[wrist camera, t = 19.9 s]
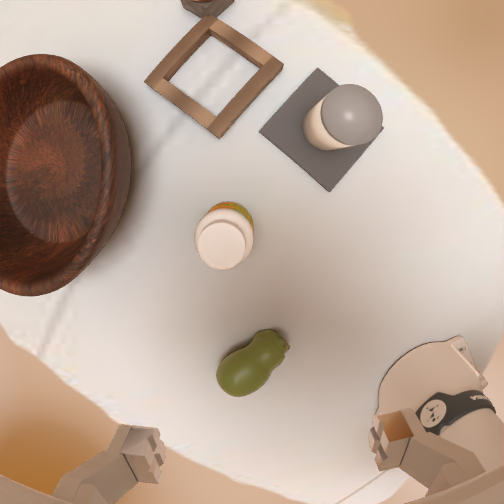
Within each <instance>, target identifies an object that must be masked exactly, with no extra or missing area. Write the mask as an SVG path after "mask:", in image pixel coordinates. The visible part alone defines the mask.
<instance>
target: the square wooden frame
mask: <svg viewBox="0 0 504 504" xmlns="http://www.w3.org/2000/svg"><path fill="white" fill-rule="evenodd" d="M233 2H234V0H209V1H204V2H198V1H193V0H181V3H182V5H183V7H184V8H185V9H187V10H188V11H190V12H192V13H194V14H195V15H197V16H199V17H200V18H202V19H201V20H200V21H199V22H198V23H197V24H196V25H195V26H194V27H193V28H192V29H191V30H190V31H189V32H188V33H187V34H186V35H185V36H184V37H183V38H182V39H181V40H180V41H179V42H178V43H177V44H176V46H175V47H174V48H173V49H172V50H171V51H170V52H169V53H168V54H167V55H166V56H165V58H164V59H163V60H162V61H161V62H160V63H159V64H158V66H157V67H156V68H155V69H154V70H153V71H152V73H151V74H150V75H149V76H148V77H147V79H146V80H145V81H144V82H145V83H146V84H147V85H148V86H150V87H151V88H153V89H154V90H155V91H157V92H158V93H160V94H161V95H162V96H164V97H165V98H166V99H168V100H169V101H171V102H172V103H173V104H175V105H176V106H177V107H179V108H180V109H181V110H183V111H184V112H185V113H187V114H188V115H189V116H191V117H192V118H193V119H195V120H196V121H197V122H199V123H200V124H201V125H203V126H204V127H205V128H206V129H208V130H209V131H210V132H212V133H213V134H214V135H215V136H217V137H218V138H219V139H220V138H221V137H222V136H223V135H224V133H225V132H226V131H227V130H228V129H229V128H230V126H231V125H232V124H233V123H234V122H235V121H236V119H237V118H238V117H239V116H240V115H241V114H242V113H243V111H244V110H245V109H246V108H247V107H248V106H249V105H250V104H251V103H252V101H253V100H254V99H255V98H256V97H257V96H258V95H259V94H260V93H261V92H262V90H263V89H264V88H265V87H266V86H267V85H268V84H269V83H270V82H271V81H272V80H273V79H274V78H275V77H276V75H277V74H278V73H279V72H280V71H281V70H282V68H283V66H284V64H283V63H282V62H280V61H279V60H278V59H276V58H275V57H274V56H272V55H271V54H269V53H268V52H267V51H265V50H264V49H262V48H261V47H260V46H258V45H257V44H255V43H254V42H252V41H251V40H250V39H248V38H247V37H245V36H244V35H242V34H241V33H239V32H238V31H236V30H235V29H233V28H232V27H230V26H228V25H227V24H225V23H224V22H222V21H220V20H219V19H217V18H216V17H217V16H219V15H220V14H221V13H222V12H223V11H224V10H225V9H226V8H227V7H228V6H229V5H231V4H232V3H233ZM210 35H212V36H214V37H215V38H217V39H218V40H220V41H221V42H223V43H224V44H226V45H227V46H229V47H230V48H232V49H233V50H235V51H236V52H237V53H239V54H240V55H242V56H243V57H245V58H246V59H247V60H249V61H250V62H252V63H253V64H254V65H256V66H257V67H258V68H260V70H259V71H258V72H257V73H256V74H255V75H254V76H253V77H252V78H251V79H250V80H249V81H248V82H247V83H246V84H245V86H244V87H243V88H242V89H241V90H240V91H239V92H238V93H237V94H236V95H235V97H234V98H233V99H232V100H231V101H230V102H229V103H228V104H227V106H226V107H225V108H224V109H223V110H222V111H221V112H220V114H219V115H218V116H217V117H215V116H214V115H213V114H211V113H210V112H209V111H207V110H206V109H205V108H203V107H202V106H201V105H199V104H198V103H197V102H195V101H194V100H193V99H191V98H190V97H189V96H187V95H186V94H184V93H183V92H182V91H180V90H179V89H177V88H176V87H175V86H173V85H172V84H170V83H169V82H168V81H169V80H170V79H171V77H172V76H173V75H174V74H175V73H176V72H177V70H178V69H179V68H180V67H181V66H182V65H183V64H184V63H185V62H186V60H187V59H188V58H189V57H190V56H191V55H192V54H193V53H194V52H195V51H196V50H197V49H198V48H199V47H200V46H201V45H202V44H203V42H204V41H205V40H206V39H207V38H208V37H209V36H210Z"/></svg>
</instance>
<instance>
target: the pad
mask: <svg viewBox="0 0 504 504" xmlns="http://www.w3.org/2000/svg"><path fill="white" fill-rule="evenodd" d="M338 86H339V85H338V84H337V83H335V82H334V81H333V80H332V79H331V78H330V77H328V76H327V75H326V74H325V73H324V72H322V71H321V70H320V69H319V68H317V69H316V70H315V71H314V72H313V73H312V74H311V75H310V76H309V77H308V78H307V79H306V80H305V81H304V82H303V83H302V85H301V86H300V87H299V88H298V89H297V90H296V91H295V92H294V93H293V94H292V95H291V96H290V98H289V99H288V100H287V101H286V102H285V103H284V104H283V105H282V106H281V107H280V108H279V110H278V111H277V112H276V113H275V114H274V115H273V116H272V117H271V119H270V120H269V121H268V122H267V123H266V124H265V125H264V126H263V128H262V129H261V130H260V131H259V132H260V133H261V134H262V135H263V136H265V137H266V138H267V139H268V140H270V141H271V142H272V143H273V144H274V145H276V146H277V147H278V148H279V149H280V150H282V151H283V152H284V153H285V154H286V155H288V156H289V157H290V158H291V159H292V160H293V161H295V162H296V163H297V164H298V165H299V166H300V167H301V168H303V169H304V170H305V171H306V172H307V173H308V174H309V175H311V176H312V177H313V178H314V179H315V180H316V181H317V182H318V183H320V184H321V185H322V186H323V187H324V188H325V189H326V190H327V191H328V192H330V191H331V190H332V189H333V188H334V187H335V185H336V184H337V183H338V182H339V181H340V180H341V178H342V177H343V176H344V175H345V174H346V173H347V171H348V170H349V169H350V168H351V167H352V165H353V164H354V163H355V162H356V161H357V160H358V158H359V157H360V156H361V155H362V154H363V152H364V151H365V150H366V149H367V148H368V147H369V145H370V144H371V143H372V142H373V141H374V139H375V138H376V137H377V136H378V135H379V133H380V132H381V131H382V130H383V129H384V127H383V126H381V129H380V131H379V133H378V134H377V136H376V137H375V138H374V139H372V140H371V141H369V142H367V143H364V144H360V145H355V146H349V147H344V148H339V149H334V150H328V151H325V150H319V149H317V148H315V147H313V146H312V145H311V144H310V143H309V142H308V141H307V140H306V138H305V136H304V134H303V130H302V123H303V120H304V117H305V115H306V114H307V113H308V112H309V111H310V110H311V109H312V108H313V107H314V106H315V105H316V104H317V103H319V102H320V101H321V100H322V99H323V98H324V97H325V96H326V95H327V94H329V93H330V92H331V91H332V90H333V89H335V88H336V87H338Z"/></svg>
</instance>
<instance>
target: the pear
mask: <svg viewBox="0 0 504 504" xmlns="http://www.w3.org/2000/svg"><path fill="white" fill-rule="evenodd" d="M285 342H286V341H285V340H283V339H282V338H280V337H279V336H278V334H277V332H274V331H272V330H271V329H268V330H264V331H260V332H258V333H256V335H255V336H254V338H253V340H252V342H251V343H250V344H249V345H248V346H246V347H245V348H243V349H240V350H237V351H235V352H233V353H231V354H230V355H229V356H227V357H226V358H225V359H224V360H223V361H222V362H221V363H220V365H219V367H218V369H217V373H216V377H217V381H218V384H219V385H220V387H221V388H222V389H223V390H224V391H225V392H226V393H227V394H229V395H232V396H235V397H242V396H246V395H249V394H251V393H253V392H254V391H256V390H258V389H259V388H260V387H261V386H263V385H264V384H265V382H266V381H267V380H268V378H269V376H270V374H271V372H272V371H273V370H274V369H275V368H276V367H277V366H278V365H279V364H280V363H281V362H282V361H283V359H284V357H285V356H284V354H285V352H286V351H287V350H289V348H290V346H289V345H288V344H287V343H285Z"/></svg>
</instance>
